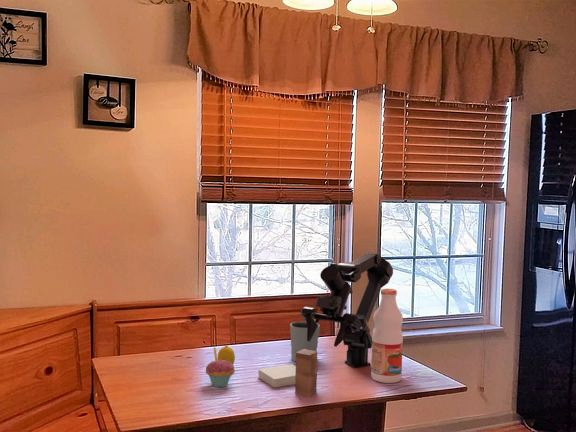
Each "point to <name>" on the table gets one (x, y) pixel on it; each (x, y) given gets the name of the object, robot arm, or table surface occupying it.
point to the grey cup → (302, 338)
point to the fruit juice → (387, 340)
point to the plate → (278, 375)
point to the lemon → (226, 354)
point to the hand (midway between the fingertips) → (321, 343)
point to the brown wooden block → (306, 372)
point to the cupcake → (219, 371)
